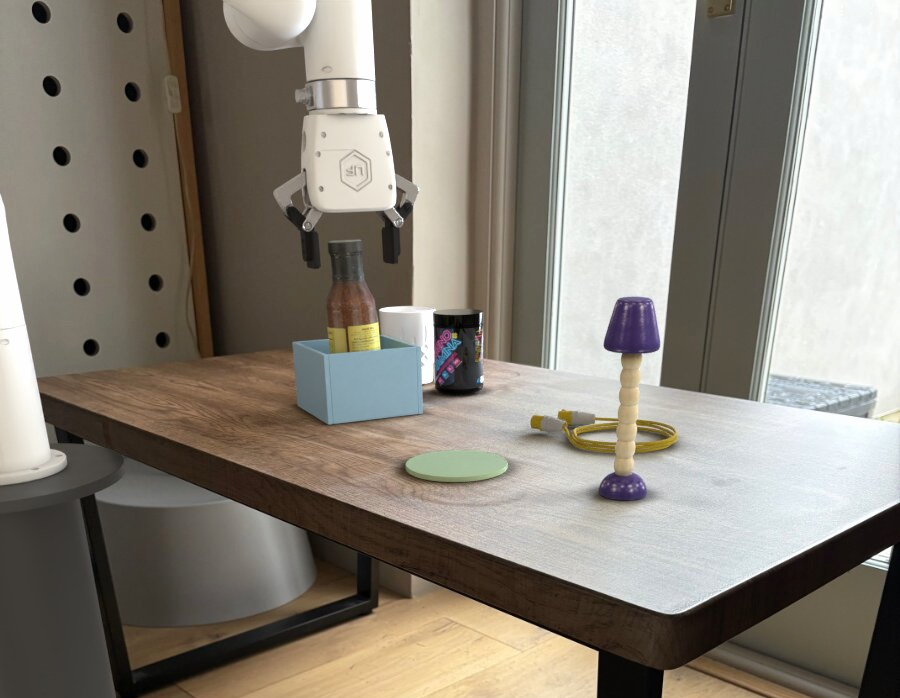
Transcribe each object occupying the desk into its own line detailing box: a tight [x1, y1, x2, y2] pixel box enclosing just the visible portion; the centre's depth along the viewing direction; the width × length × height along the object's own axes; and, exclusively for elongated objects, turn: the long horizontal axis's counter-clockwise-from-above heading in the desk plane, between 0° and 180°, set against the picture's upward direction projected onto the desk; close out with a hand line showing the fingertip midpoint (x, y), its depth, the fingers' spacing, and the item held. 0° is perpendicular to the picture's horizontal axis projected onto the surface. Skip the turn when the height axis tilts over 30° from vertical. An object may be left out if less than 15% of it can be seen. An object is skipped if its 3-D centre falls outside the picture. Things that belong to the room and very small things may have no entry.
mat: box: [405, 449, 509, 483], centre depth 91 cm, size 10×10×1 cm
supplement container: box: [433, 308, 485, 397], centre depth 124 cm, size 7×7×10 cm
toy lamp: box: [598, 296, 661, 501], centre depth 79 cm, size 5×5×17 cm
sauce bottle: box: [325, 239, 380, 354], centre depth 112 cm, size 7×6×20 cm
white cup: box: [378, 305, 436, 385], centre depth 131 cm, size 8×8×10 cm
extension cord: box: [530, 409, 679, 454], centre depth 101 cm, size 12×16×2 cm
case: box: [292, 334, 424, 426], centre depth 115 cm, size 12×12×8 cm
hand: (352, 265), depth 110 cm, fingers open, 9 cm apart
